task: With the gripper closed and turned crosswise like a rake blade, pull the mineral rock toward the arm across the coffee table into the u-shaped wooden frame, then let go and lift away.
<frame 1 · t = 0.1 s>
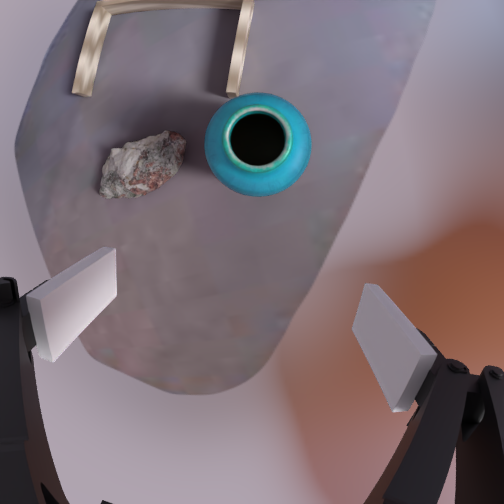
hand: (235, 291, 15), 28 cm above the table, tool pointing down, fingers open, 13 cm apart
mineral rock: (144, 166, 41), on the table
u-shaped wooden frame: (164, 45, 35), on the table
vase: (258, 150, 40), on the table
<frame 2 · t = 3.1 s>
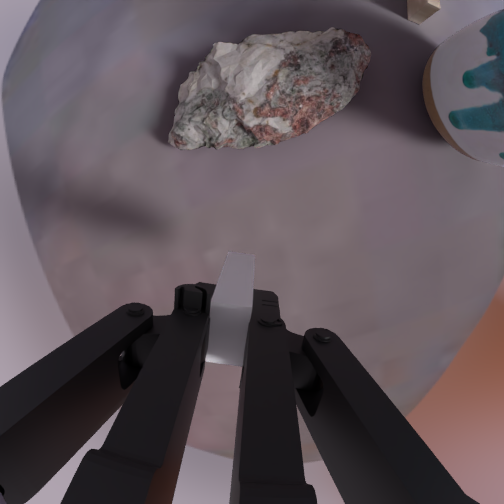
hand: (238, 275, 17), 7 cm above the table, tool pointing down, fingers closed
mineral rock: (266, 95, 21), on the table
vase: (452, 104, 20), on the table
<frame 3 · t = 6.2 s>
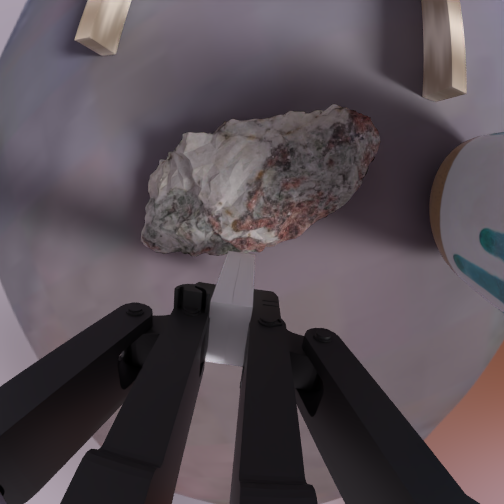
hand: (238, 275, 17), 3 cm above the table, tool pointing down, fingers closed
mineral rock: (251, 182, 19), on the table
vase: (460, 202, 19), on the table
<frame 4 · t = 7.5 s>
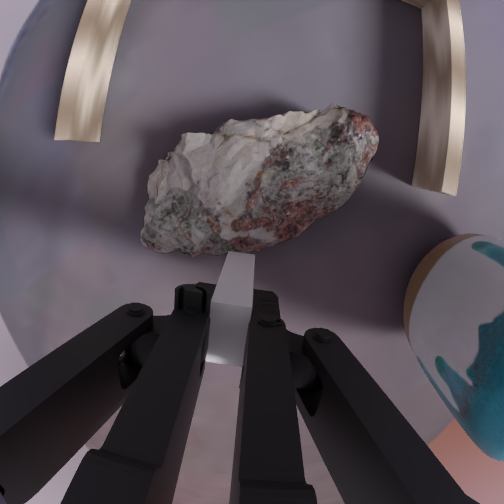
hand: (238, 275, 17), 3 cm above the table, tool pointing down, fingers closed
mineral rock: (250, 182, 19), on the table, touching gripper
u-shaped wooden frame: (272, 40, 16), on the table
vase: (439, 284, 21), on the table
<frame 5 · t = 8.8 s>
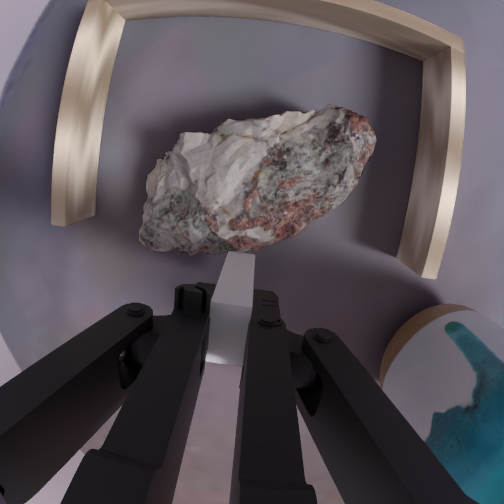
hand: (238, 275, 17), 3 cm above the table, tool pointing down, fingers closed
mineral rock: (248, 182, 19), on the table, touching gripper
u-shaped wooden frame: (262, 112, 18), on the table
vase: (419, 340, 22), on the table
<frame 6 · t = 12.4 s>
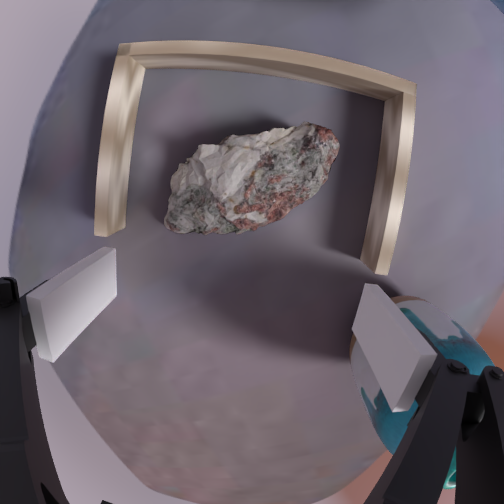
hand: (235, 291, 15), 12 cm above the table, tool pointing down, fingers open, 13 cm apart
mineral rock: (246, 180, 26), on the table
u-shaped wooden frame: (254, 150, 25), on the table
vase: (384, 327, 29), on the table
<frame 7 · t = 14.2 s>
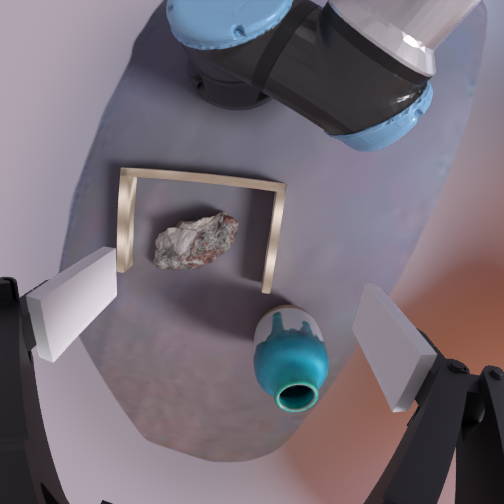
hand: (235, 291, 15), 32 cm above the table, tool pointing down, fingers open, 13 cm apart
mineral rock: (195, 239, 48), on the table
u-shaped wooden frame: (198, 225, 47), on the table
vase: (284, 322, 51), on the table
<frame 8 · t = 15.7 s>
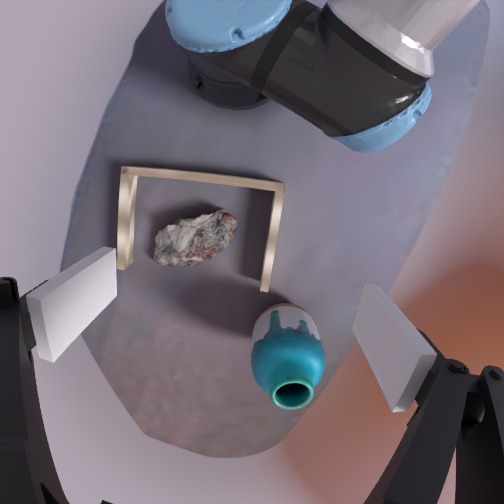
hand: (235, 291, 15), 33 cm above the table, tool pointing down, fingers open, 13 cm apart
mineral rock: (195, 236, 48), on the table
u-shaped wooden frame: (198, 223, 47), on the table
vase: (282, 320, 52), on the table
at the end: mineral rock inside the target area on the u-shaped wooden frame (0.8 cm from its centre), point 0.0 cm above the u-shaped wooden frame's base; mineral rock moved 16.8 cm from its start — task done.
